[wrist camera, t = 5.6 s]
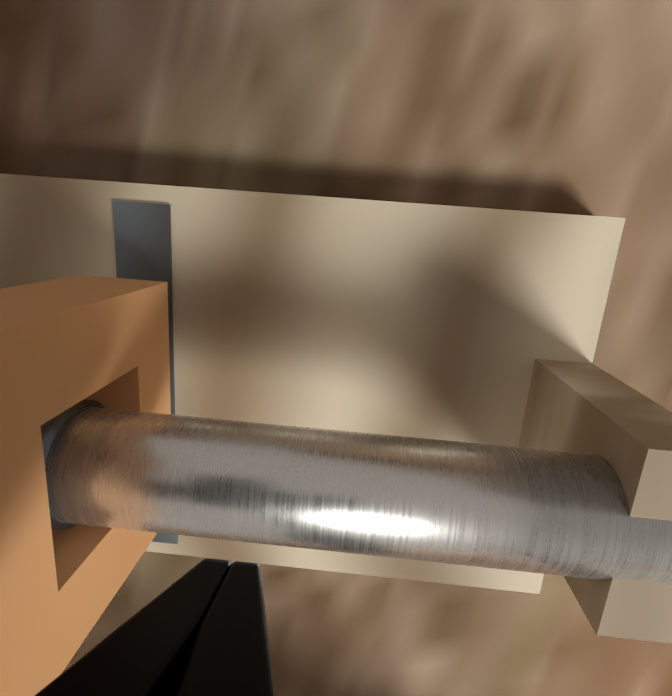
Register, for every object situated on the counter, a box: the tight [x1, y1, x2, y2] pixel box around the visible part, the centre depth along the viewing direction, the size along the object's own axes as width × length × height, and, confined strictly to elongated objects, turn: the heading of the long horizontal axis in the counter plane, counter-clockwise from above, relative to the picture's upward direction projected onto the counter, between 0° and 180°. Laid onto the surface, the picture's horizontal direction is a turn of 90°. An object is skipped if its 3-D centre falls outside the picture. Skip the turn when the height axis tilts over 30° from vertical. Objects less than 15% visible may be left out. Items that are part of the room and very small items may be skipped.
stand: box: [0, 173, 672, 643], centre depth 12 cm, size 20×12×7 cm, turn 86°
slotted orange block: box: [0, 275, 171, 696], centre depth 10 cm, size 2×7×8 cm, turn 176°
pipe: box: [41, 399, 672, 584], centre depth 10 cm, size 20×3×3 cm, turn 86°
